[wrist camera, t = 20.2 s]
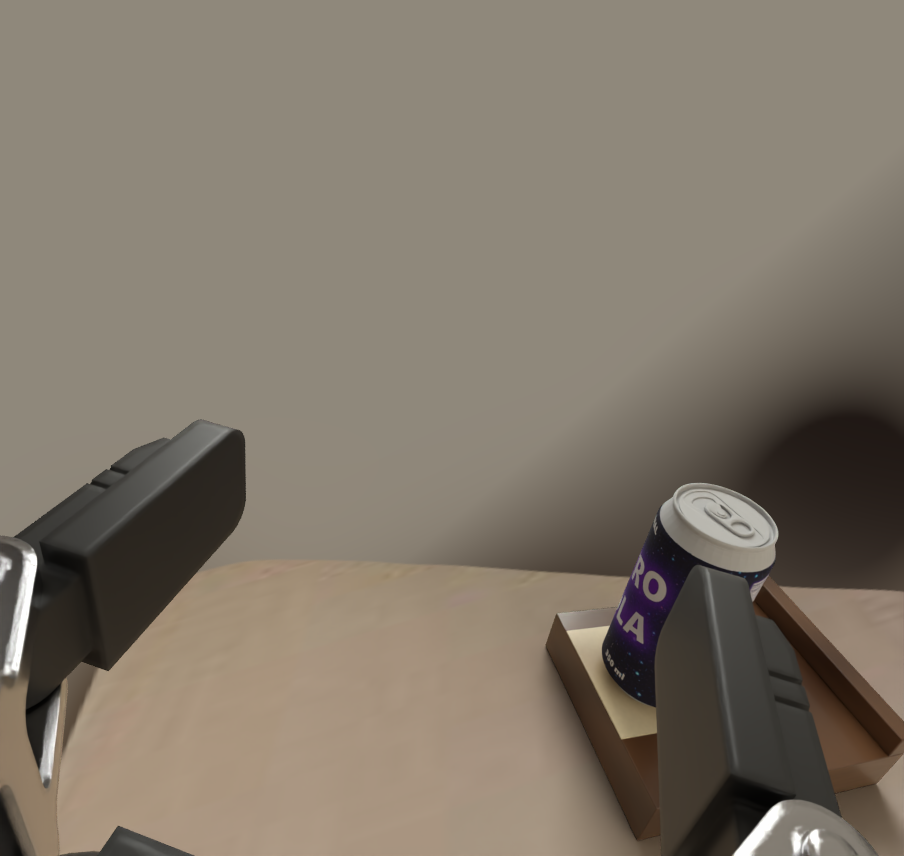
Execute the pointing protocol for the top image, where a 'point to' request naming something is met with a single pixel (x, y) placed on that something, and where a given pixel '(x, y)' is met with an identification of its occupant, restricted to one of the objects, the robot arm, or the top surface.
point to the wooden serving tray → (634, 724)
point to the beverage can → (683, 573)
